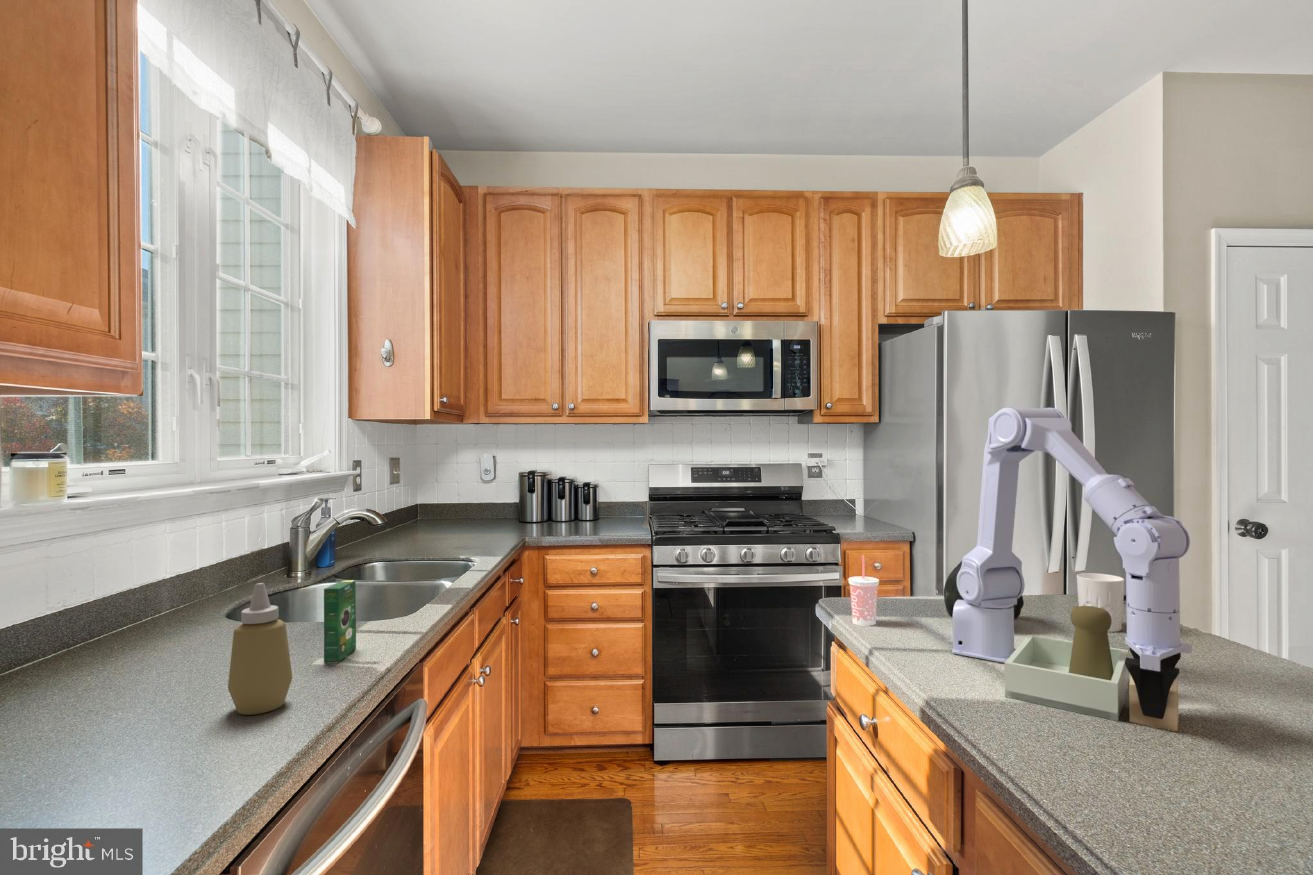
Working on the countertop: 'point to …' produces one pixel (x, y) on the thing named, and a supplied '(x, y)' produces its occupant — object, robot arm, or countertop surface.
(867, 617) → the beverage cup
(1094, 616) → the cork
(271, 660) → the squeeze bottle
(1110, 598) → the white cup
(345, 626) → the coffee box
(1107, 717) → the tote
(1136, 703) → the maple cube
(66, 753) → the countertop surface
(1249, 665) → the countertop surface
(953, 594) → the squash
